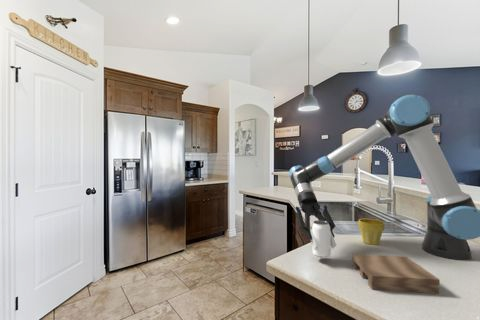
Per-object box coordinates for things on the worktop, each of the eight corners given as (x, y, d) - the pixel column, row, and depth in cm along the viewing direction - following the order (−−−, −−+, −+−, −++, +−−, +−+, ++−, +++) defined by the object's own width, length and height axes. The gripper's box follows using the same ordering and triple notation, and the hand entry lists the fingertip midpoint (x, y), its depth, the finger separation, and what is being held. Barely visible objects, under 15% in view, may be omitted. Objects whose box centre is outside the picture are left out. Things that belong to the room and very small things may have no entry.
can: (319, 258, 85) (318, 225, 85) (309, 252, 91) (308, 220, 91) (334, 256, 87) (334, 223, 87) (323, 250, 93) (323, 219, 93)
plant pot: (377, 238, 113) (377, 218, 113) (389, 246, 103) (389, 224, 103) (355, 238, 114) (355, 218, 114) (364, 246, 104) (364, 223, 104)
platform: (406, 268, 82) (406, 256, 82) (439, 293, 67) (439, 279, 67) (352, 265, 85) (352, 254, 85) (372, 289, 69) (372, 275, 69)
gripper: (323, 200, 106) (345, 250, 90) (282, 201, 104) (297, 253, 87) (329, 189, 101) (353, 240, 85) (286, 191, 98) (302, 244, 82)
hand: (325, 247), depth 86 cm, fingers closed on can, 6 cm apart
